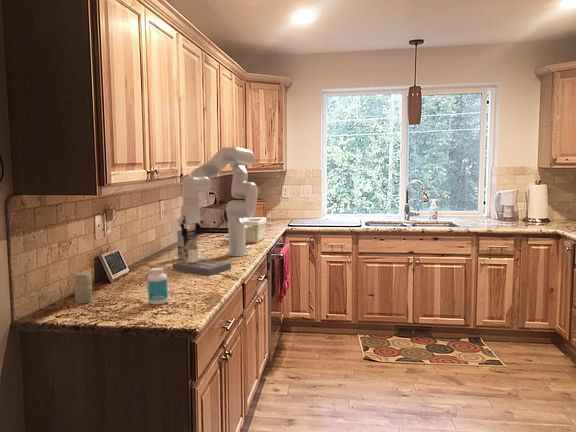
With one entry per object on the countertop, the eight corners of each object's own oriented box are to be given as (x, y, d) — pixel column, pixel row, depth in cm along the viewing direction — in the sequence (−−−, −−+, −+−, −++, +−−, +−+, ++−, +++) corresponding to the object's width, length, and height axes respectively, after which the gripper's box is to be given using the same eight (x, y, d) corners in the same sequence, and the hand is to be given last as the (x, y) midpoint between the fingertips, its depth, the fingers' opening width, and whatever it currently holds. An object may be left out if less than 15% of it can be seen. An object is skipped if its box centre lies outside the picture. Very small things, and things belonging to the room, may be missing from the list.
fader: (193, 259, 254) (193, 248, 254) (200, 260, 252) (200, 249, 251) (185, 262, 249) (185, 250, 249) (192, 263, 247) (192, 251, 246)
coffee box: (185, 260, 270) (183, 231, 268) (177, 259, 274) (176, 230, 272) (197, 257, 277) (196, 229, 275) (190, 256, 281) (189, 228, 279)
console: (195, 263, 261) (195, 257, 261) (231, 268, 247) (231, 262, 247) (173, 269, 248) (172, 263, 247) (209, 275, 234) (209, 269, 234)
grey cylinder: (74, 305, 189) (71, 275, 188) (77, 300, 196) (75, 271, 195) (91, 304, 191) (89, 274, 189) (94, 298, 198) (92, 269, 196)
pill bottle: (172, 302, 192) (170, 268, 190) (155, 306, 186) (154, 272, 185) (161, 298, 197) (159, 265, 195) (144, 302, 191) (143, 269, 190)
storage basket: (245, 237, 345) (244, 216, 343) (267, 237, 342) (267, 216, 340) (235, 243, 322) (234, 221, 320) (259, 243, 319) (258, 221, 317)
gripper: (197, 200, 256) (198, 232, 258) (172, 202, 242) (173, 236, 243) (207, 200, 252) (208, 233, 254) (183, 203, 237) (184, 237, 239)
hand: (191, 235), depth 248 cm, fingers open, 9 cm apart
